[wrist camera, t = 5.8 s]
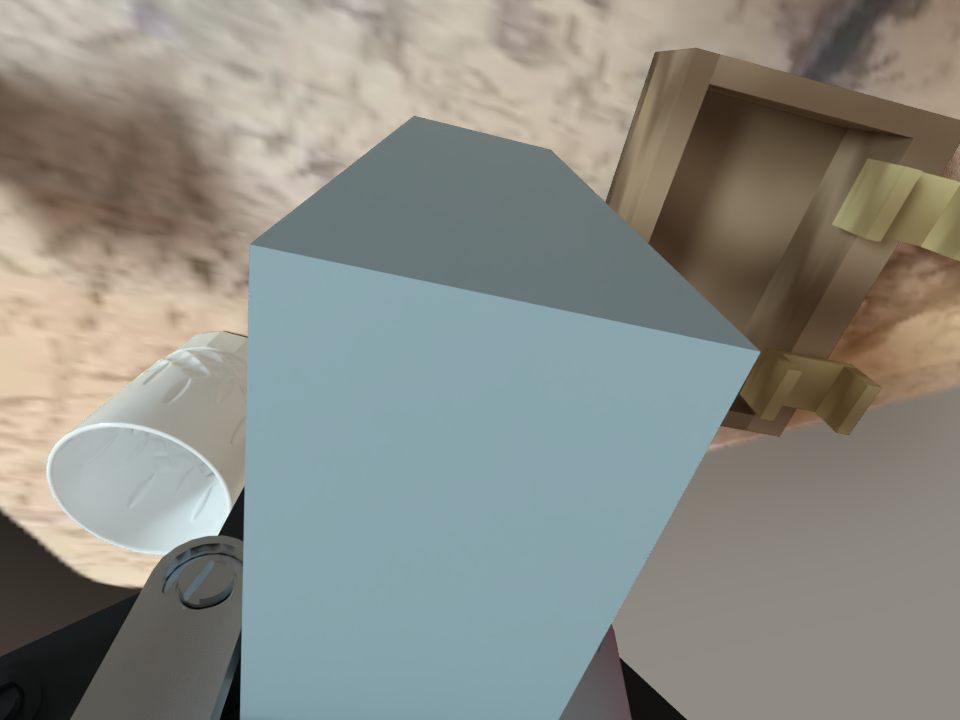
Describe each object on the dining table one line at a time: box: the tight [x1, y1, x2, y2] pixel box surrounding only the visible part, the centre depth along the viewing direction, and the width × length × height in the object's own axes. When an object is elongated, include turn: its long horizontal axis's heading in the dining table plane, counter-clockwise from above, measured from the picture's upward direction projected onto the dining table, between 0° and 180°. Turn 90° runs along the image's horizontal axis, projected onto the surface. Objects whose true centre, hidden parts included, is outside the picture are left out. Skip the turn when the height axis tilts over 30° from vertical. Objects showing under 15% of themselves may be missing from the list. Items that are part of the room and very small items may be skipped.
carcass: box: [606, 48, 960, 436], centre depth 25 cm, size 16×13×7 cm
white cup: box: [46, 331, 248, 555], centre depth 28 cm, size 8×8×10 cm
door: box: [240, 116, 760, 720], centre depth 9 cm, size 13×3×8 cm, turn 167°
